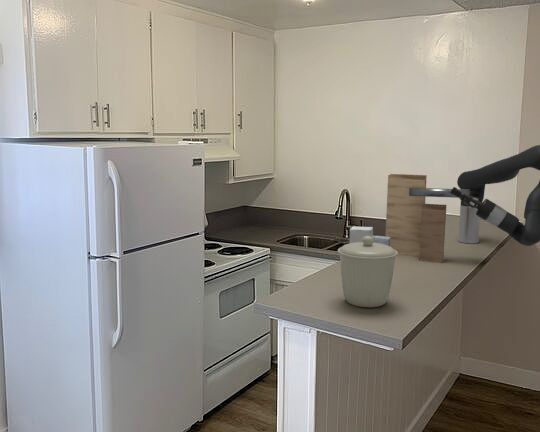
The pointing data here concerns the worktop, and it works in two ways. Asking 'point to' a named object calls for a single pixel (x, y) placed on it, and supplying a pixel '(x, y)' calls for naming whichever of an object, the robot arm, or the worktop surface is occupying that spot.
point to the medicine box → (382, 240)
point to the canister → (367, 272)
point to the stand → (404, 213)
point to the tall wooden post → (432, 232)
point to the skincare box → (360, 233)
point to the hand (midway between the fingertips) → (452, 189)
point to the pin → (435, 192)
